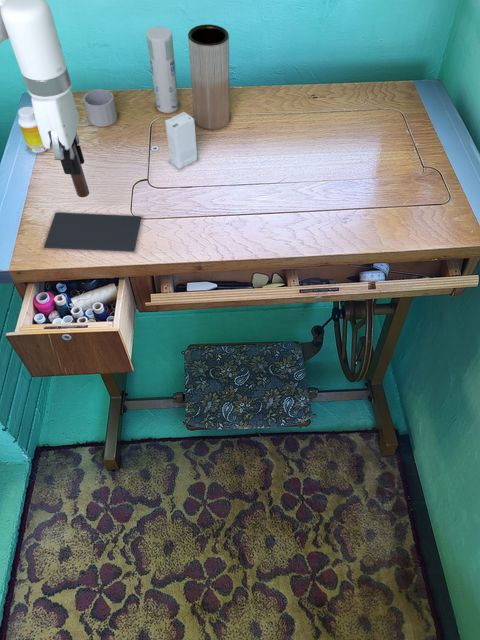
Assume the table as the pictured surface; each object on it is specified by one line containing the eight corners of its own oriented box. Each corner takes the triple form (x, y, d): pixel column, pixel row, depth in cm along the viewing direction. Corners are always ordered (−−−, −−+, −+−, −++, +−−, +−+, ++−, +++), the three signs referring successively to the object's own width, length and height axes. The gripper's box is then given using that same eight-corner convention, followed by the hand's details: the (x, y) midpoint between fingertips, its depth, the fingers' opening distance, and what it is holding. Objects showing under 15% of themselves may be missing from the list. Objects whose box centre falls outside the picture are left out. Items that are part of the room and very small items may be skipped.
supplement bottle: (50, 153, 136) (37, 116, 127) (27, 154, 135) (13, 118, 126) (50, 139, 139) (38, 103, 130) (28, 141, 138) (15, 105, 129)
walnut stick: (75, 197, 111) (59, 147, 101) (78, 189, 112) (62, 139, 102) (88, 197, 111) (73, 148, 101) (90, 189, 112) (76, 140, 102)
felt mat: (44, 248, 118) (43, 246, 117) (56, 214, 124) (55, 212, 123) (133, 251, 118) (133, 250, 118) (140, 217, 124) (140, 216, 124)
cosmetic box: (187, 152, 138) (183, 109, 128) (198, 160, 137) (195, 118, 126) (169, 161, 136) (163, 119, 126) (179, 170, 134) (175, 128, 124)
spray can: (177, 113, 147) (170, 39, 131) (154, 112, 147) (144, 38, 131) (180, 100, 151) (173, 26, 134) (157, 99, 151) (147, 25, 134)
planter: (237, 121, 147) (237, 36, 128) (209, 134, 143) (205, 49, 124) (214, 104, 151) (211, 19, 132) (186, 117, 147) (179, 32, 128)
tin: (86, 125, 143) (80, 105, 138) (91, 109, 147) (86, 88, 142) (114, 127, 143) (110, 106, 138) (119, 110, 147) (115, 90, 142)
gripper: (37, 54, 95) (65, 142, 111) (12, 105, 86) (46, 194, 102) (78, 55, 95) (101, 144, 111) (58, 107, 87) (85, 195, 102)
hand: (74, 167), depth 106 cm, fingers closed on walnut stick, 2 cm apart
